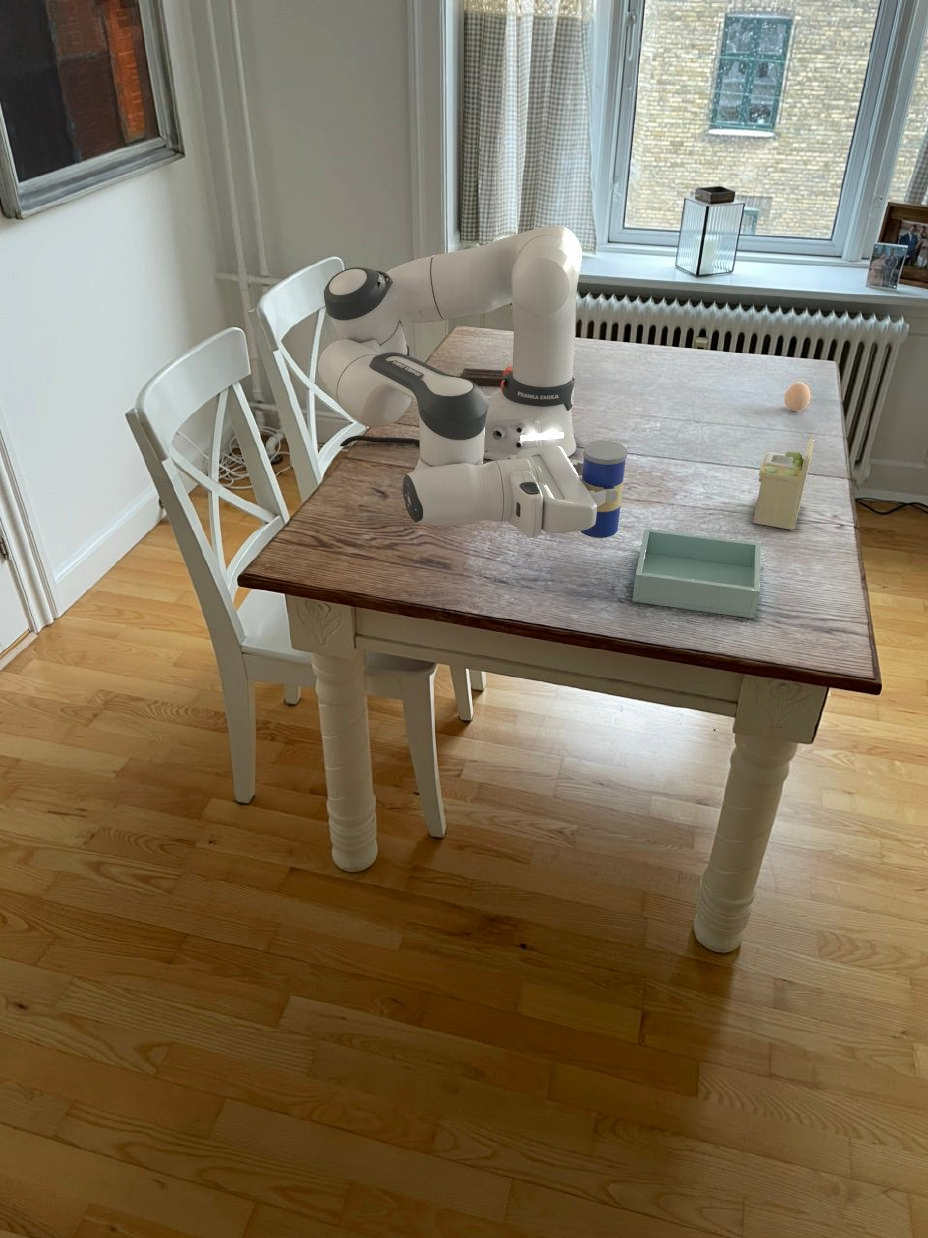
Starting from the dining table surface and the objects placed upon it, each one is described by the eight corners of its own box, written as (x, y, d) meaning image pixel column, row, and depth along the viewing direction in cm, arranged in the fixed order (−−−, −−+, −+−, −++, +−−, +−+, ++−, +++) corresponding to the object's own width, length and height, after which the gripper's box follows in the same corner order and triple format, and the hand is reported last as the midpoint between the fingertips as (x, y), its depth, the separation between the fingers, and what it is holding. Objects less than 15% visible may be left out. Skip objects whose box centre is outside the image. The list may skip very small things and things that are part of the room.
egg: (782, 403, 202) (787, 376, 198) (807, 406, 200) (813, 379, 197) (781, 413, 198) (787, 386, 194) (807, 416, 197) (813, 389, 193)
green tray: (632, 601, 143) (635, 574, 140) (641, 554, 154) (644, 528, 151) (754, 618, 140) (760, 591, 137) (755, 569, 150) (760, 543, 147)
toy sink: (756, 500, 168) (770, 430, 160) (799, 507, 166) (815, 437, 158) (749, 523, 162) (763, 451, 154) (794, 531, 160) (810, 459, 152)
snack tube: (574, 535, 145) (580, 456, 137) (580, 515, 149) (587, 438, 142) (616, 541, 143) (624, 461, 136) (621, 520, 148) (629, 442, 141)
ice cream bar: (438, 382, 211) (506, 386, 209) (438, 375, 210) (507, 379, 208) (442, 373, 215) (509, 377, 213) (442, 366, 214) (509, 370, 212)
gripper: (500, 476, 150) (586, 468, 152) (532, 543, 134) (627, 534, 136) (501, 438, 146) (589, 431, 148) (534, 503, 130) (632, 494, 132)
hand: (608, 481), depth 142 cm, fingers closed on snack tube, 6 cm apart
